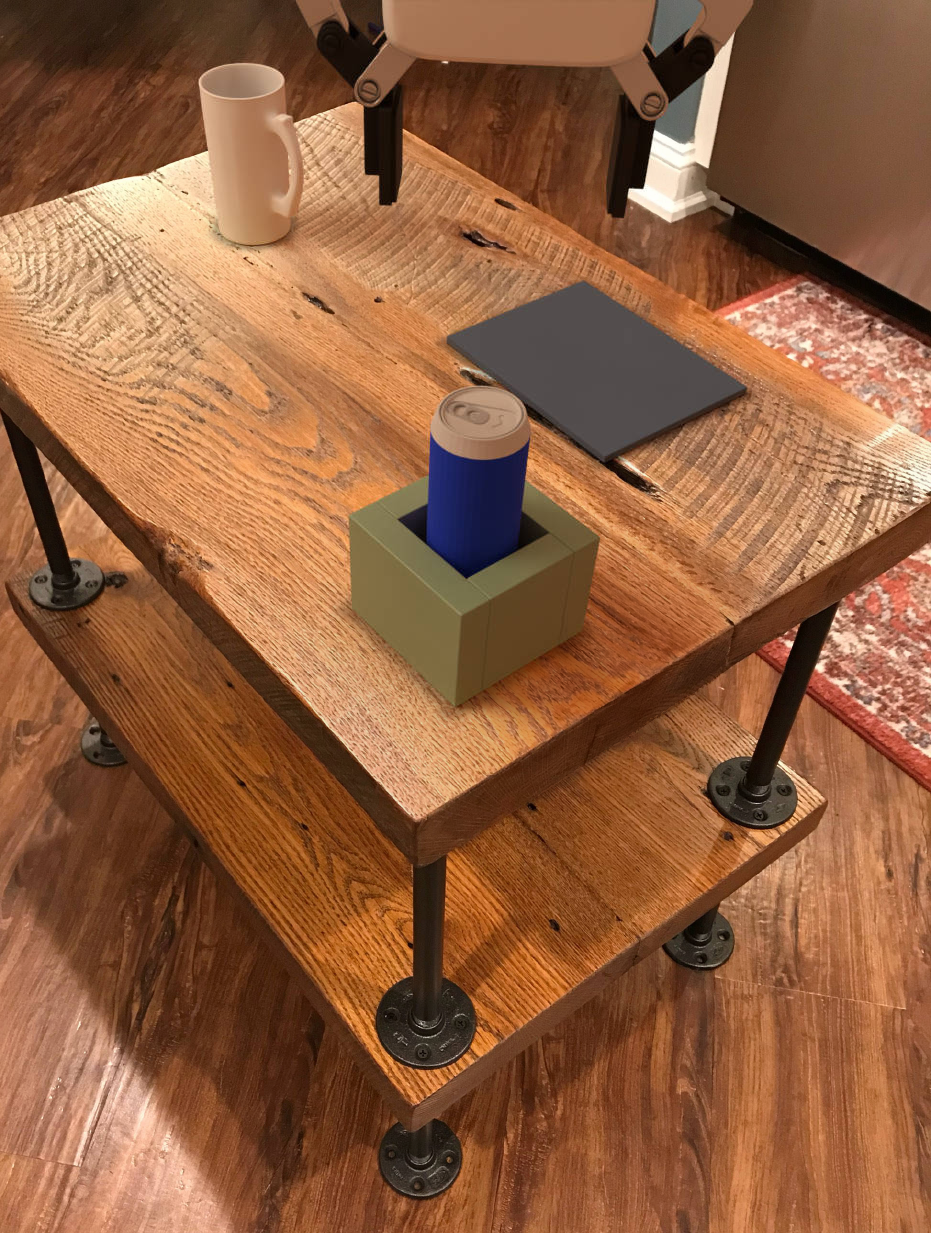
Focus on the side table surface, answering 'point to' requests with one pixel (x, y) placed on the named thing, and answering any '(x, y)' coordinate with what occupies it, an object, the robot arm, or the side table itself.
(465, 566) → the beverage can
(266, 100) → the mug
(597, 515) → the side table surface
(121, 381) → the side table surface
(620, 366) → the mat
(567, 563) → the can holder
